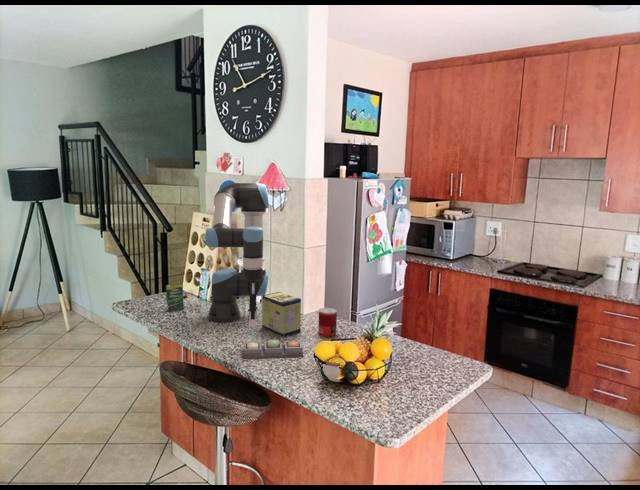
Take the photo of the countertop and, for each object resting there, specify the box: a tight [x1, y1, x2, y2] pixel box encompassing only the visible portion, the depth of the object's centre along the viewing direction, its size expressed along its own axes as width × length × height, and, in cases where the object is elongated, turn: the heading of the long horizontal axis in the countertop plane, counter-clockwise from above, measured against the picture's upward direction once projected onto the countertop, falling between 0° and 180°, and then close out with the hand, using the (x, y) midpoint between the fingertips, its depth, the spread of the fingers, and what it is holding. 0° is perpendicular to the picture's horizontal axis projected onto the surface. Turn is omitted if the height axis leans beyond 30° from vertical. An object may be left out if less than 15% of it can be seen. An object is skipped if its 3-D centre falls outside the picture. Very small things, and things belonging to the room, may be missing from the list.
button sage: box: [267, 339, 280, 348], centre depth 179 cm, size 4×4×2 cm
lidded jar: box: [322, 361, 342, 383], centre depth 159 cm, size 11×11×9 cm
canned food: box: [317, 307, 338, 338], centre depth 200 cm, size 8×8×11 cm
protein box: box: [261, 291, 302, 338], centre depth 204 cm, size 10×16×16 cm
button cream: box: [247, 342, 258, 349], centre depth 178 cm, size 4×4×2 cm
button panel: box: [243, 340, 304, 360], centre depth 180 cm, size 23×10×3 cm, turn 99°
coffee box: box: [165, 283, 185, 312], centre depth 227 cm, size 8×3×13 cm, turn 118°
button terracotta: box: [287, 340, 299, 347], centre depth 181 cm, size 4×4×2 cm
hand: (252, 326), depth 177 cm, fingers closed
